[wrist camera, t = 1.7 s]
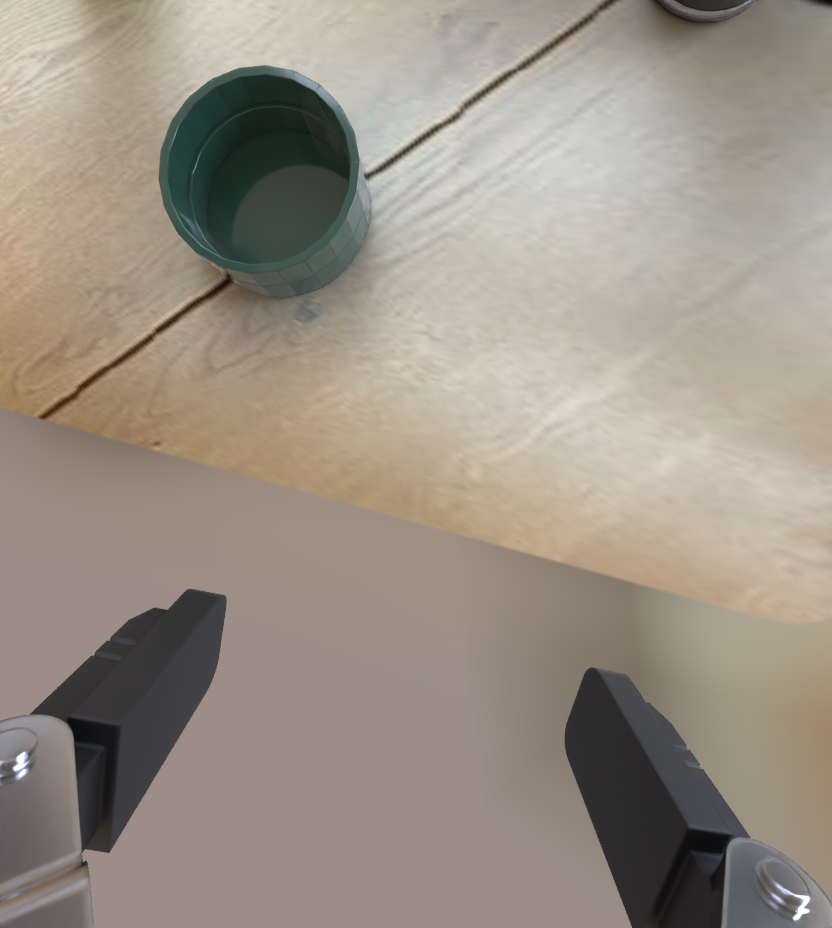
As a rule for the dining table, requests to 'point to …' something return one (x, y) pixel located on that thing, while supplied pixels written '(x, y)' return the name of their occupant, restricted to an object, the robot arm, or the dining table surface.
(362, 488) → the dining table surface
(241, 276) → the crock
